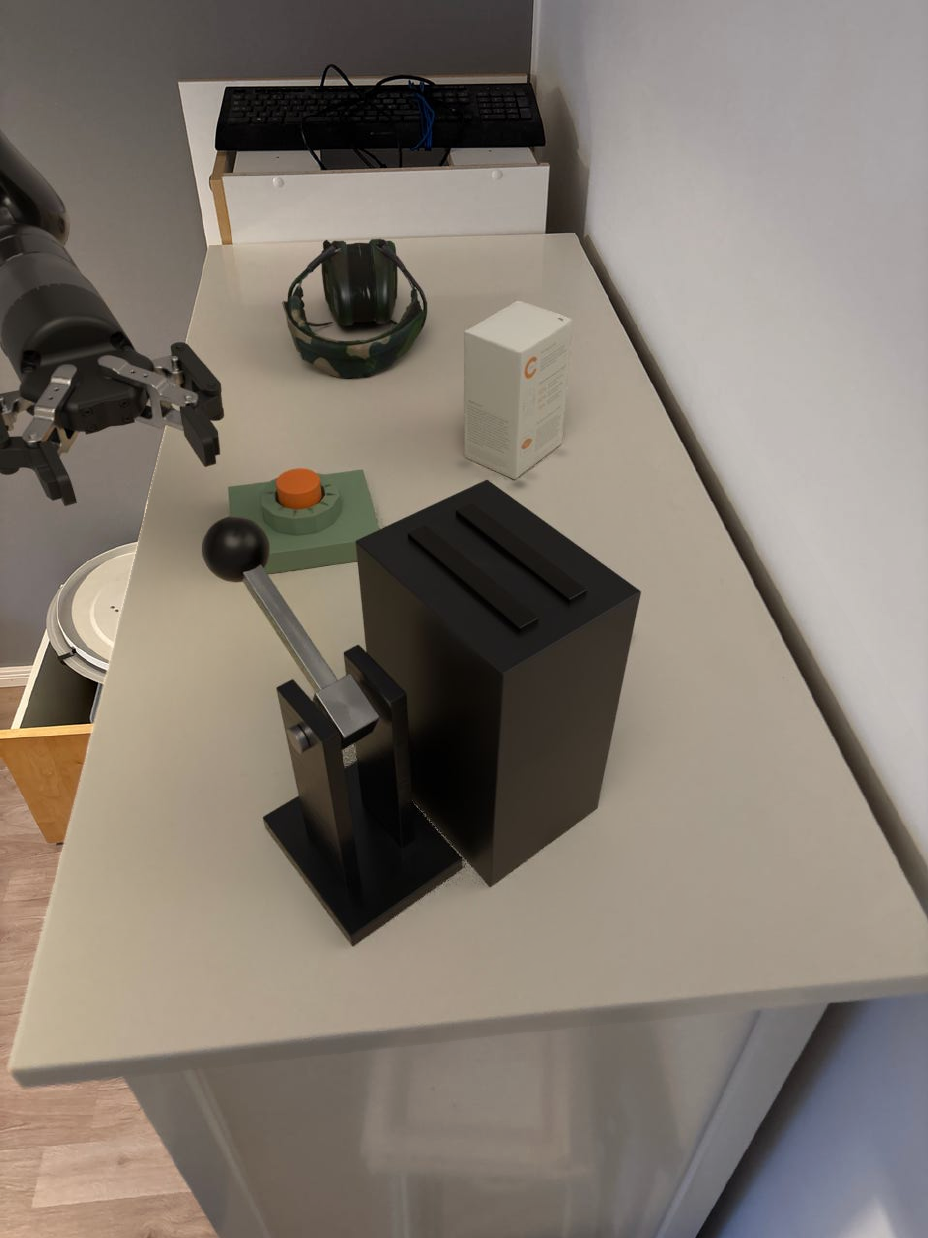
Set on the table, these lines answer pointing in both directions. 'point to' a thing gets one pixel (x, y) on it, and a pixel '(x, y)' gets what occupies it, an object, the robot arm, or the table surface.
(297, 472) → the button
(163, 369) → the robot arm
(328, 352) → the headphones
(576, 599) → the toaster
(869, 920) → the table surface
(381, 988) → the table surface
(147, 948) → the table surface
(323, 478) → the control block
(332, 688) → the toaster lever
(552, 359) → the small box
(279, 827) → the lever bracket
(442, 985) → the table surface
